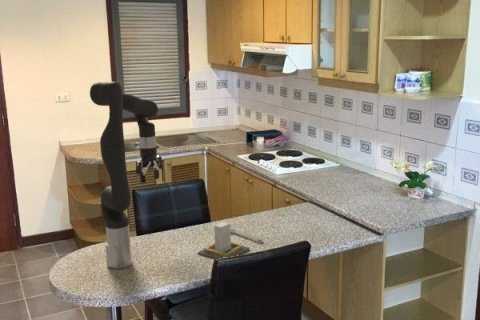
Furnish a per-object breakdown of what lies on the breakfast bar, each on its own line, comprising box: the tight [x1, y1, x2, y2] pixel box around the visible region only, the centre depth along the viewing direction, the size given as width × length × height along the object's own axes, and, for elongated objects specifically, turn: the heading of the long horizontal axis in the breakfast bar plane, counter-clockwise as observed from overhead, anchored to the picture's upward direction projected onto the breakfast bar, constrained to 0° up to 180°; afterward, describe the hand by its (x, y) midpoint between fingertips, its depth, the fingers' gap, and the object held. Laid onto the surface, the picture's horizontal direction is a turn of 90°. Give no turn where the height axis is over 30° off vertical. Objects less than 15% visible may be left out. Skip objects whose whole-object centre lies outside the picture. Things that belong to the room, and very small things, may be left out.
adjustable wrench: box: [230, 225, 263, 245], centre depth 243 cm, size 25×6×2 cm, turn 39°
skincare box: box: [214, 221, 232, 253], centre depth 224 cm, size 6×4×12 cm
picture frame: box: [197, 241, 250, 260], centre depth 226 cm, size 16×16×2 cm
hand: (150, 180), depth 236 cm, fingers open, 8 cm apart
